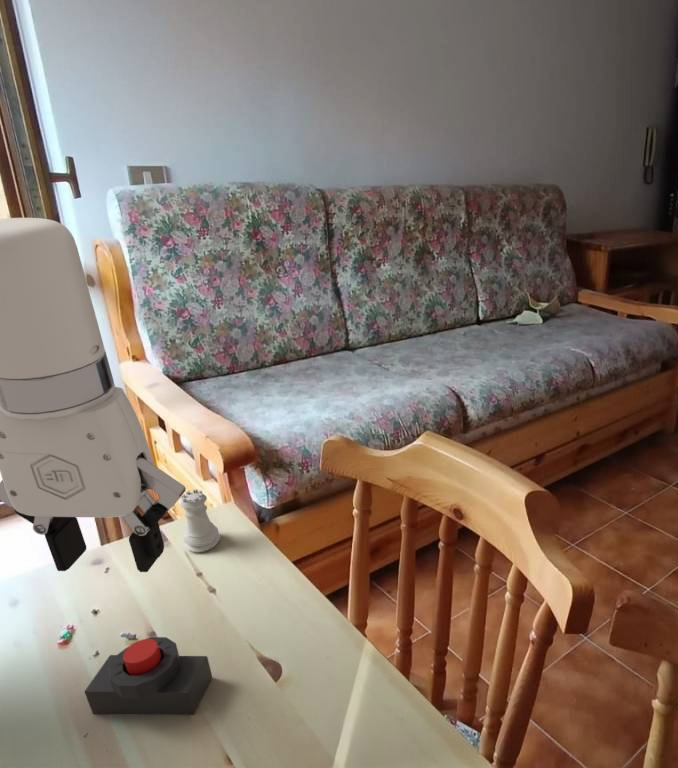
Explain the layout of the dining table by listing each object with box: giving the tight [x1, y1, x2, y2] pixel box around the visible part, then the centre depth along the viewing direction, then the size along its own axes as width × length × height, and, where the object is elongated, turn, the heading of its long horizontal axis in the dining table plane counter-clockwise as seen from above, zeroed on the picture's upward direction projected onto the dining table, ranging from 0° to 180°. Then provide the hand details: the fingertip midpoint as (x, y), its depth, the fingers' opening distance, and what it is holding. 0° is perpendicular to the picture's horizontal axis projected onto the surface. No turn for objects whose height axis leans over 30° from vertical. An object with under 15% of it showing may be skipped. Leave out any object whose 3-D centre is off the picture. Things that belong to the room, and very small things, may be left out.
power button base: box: [84, 636, 213, 716], centre depth 63 cm, size 10×6×5 cm, turn 90°
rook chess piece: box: [179, 488, 221, 554], centre depth 84 cm, size 4×4×8 cm
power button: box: [123, 638, 161, 675], centre depth 62 cm, size 3×3×2 cm
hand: (111, 559), depth 57 cm, fingers open, 6 cm apart
